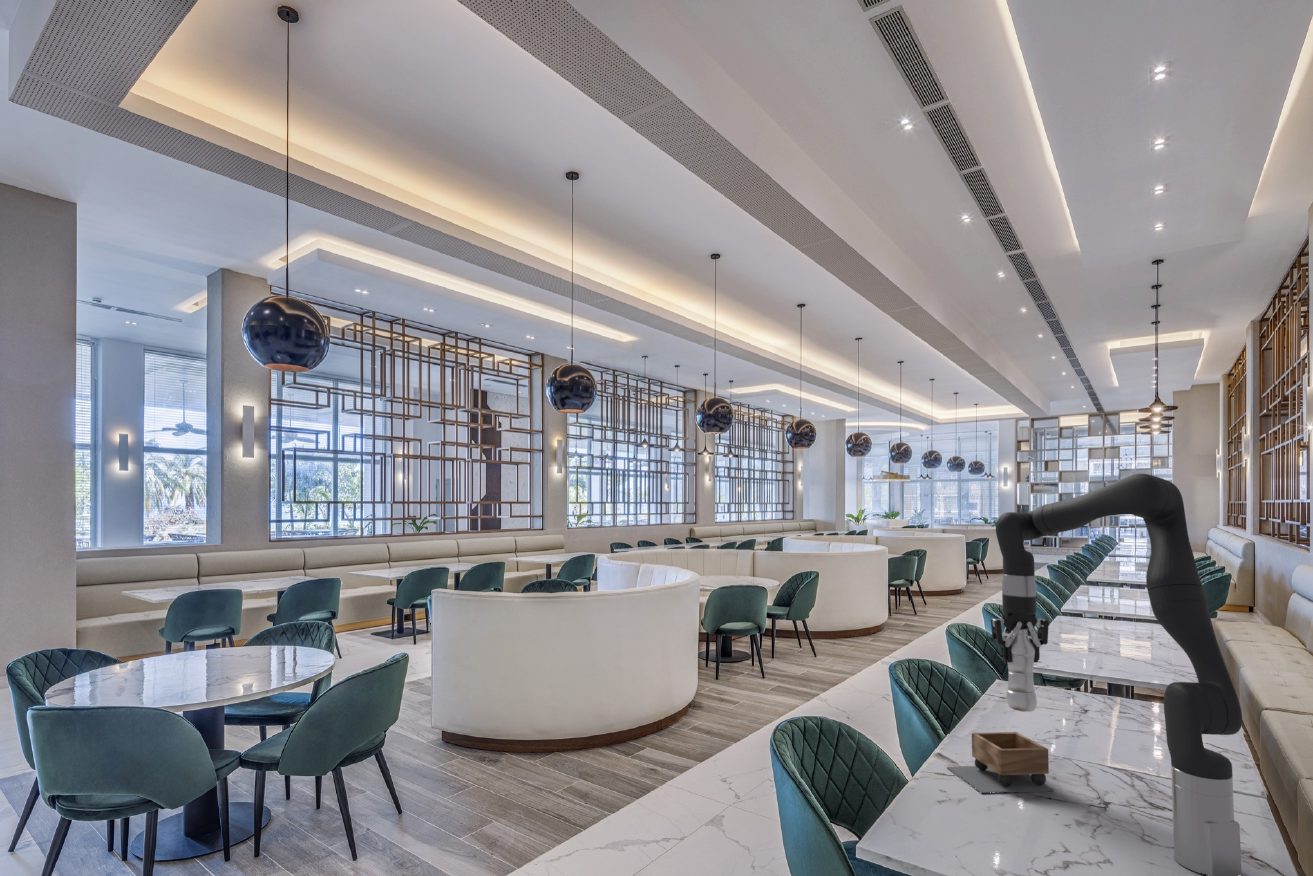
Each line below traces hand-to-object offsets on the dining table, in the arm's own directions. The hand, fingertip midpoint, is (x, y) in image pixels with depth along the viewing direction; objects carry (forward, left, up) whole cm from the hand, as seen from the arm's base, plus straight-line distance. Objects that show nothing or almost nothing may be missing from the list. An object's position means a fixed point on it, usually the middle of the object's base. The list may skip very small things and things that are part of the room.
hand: (1020, 661), depth 176 cm
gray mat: (-1, +7, -28) cm, 28 cm away
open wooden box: (-1, +4, -28) cm, 28 cm away
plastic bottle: (0, 0, -12) cm, 12 cm away
